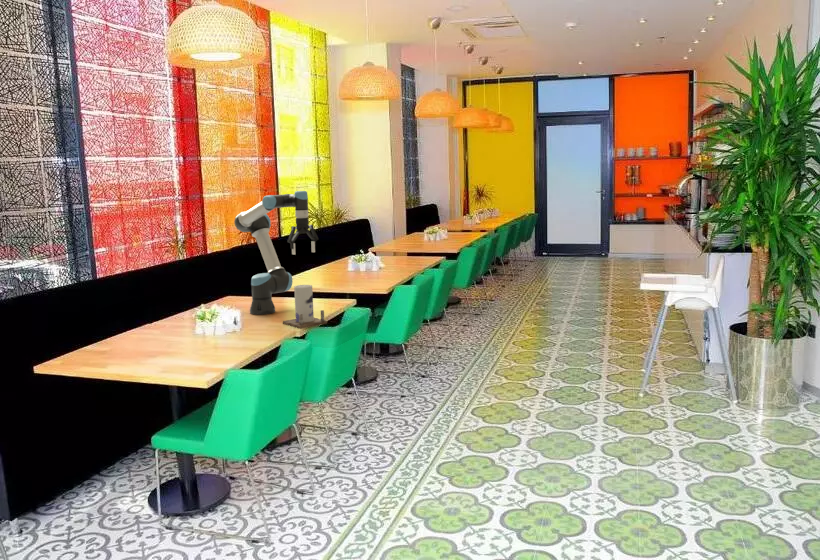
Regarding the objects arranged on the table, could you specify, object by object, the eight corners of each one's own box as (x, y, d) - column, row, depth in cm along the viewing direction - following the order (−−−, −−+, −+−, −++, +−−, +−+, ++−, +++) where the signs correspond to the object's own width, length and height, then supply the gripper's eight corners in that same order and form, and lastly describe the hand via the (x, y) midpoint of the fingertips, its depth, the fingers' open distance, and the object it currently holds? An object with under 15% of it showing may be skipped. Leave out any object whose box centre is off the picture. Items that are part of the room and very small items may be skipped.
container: (312, 322, 408) (310, 287, 405) (294, 323, 408) (292, 287, 405) (314, 318, 418) (313, 284, 414) (297, 319, 418) (295, 284, 415)
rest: (282, 323, 414) (282, 310, 413) (309, 318, 425) (309, 306, 424) (299, 328, 400) (299, 315, 399) (327, 323, 412) (326, 310, 411)
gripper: (287, 219, 419) (288, 255, 422) (323, 216, 435) (324, 251, 438) (280, 218, 425) (282, 254, 428) (316, 215, 441) (317, 250, 444)
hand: (303, 253), depth 433 cm, fingers open, 13 cm apart
